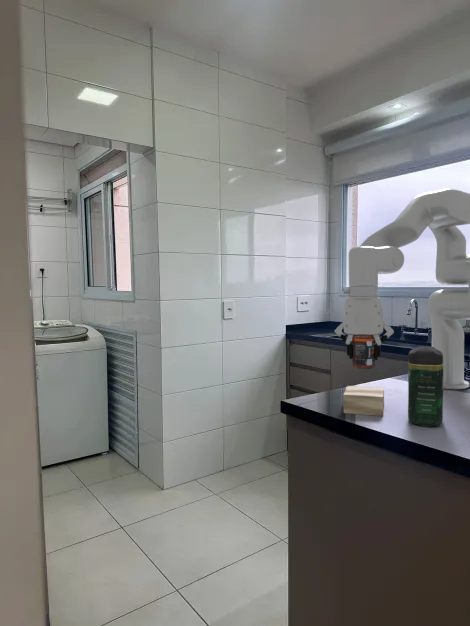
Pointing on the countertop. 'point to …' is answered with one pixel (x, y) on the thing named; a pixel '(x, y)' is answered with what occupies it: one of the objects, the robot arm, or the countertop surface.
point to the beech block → (364, 400)
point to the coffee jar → (425, 386)
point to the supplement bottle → (363, 351)
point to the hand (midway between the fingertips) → (363, 358)
